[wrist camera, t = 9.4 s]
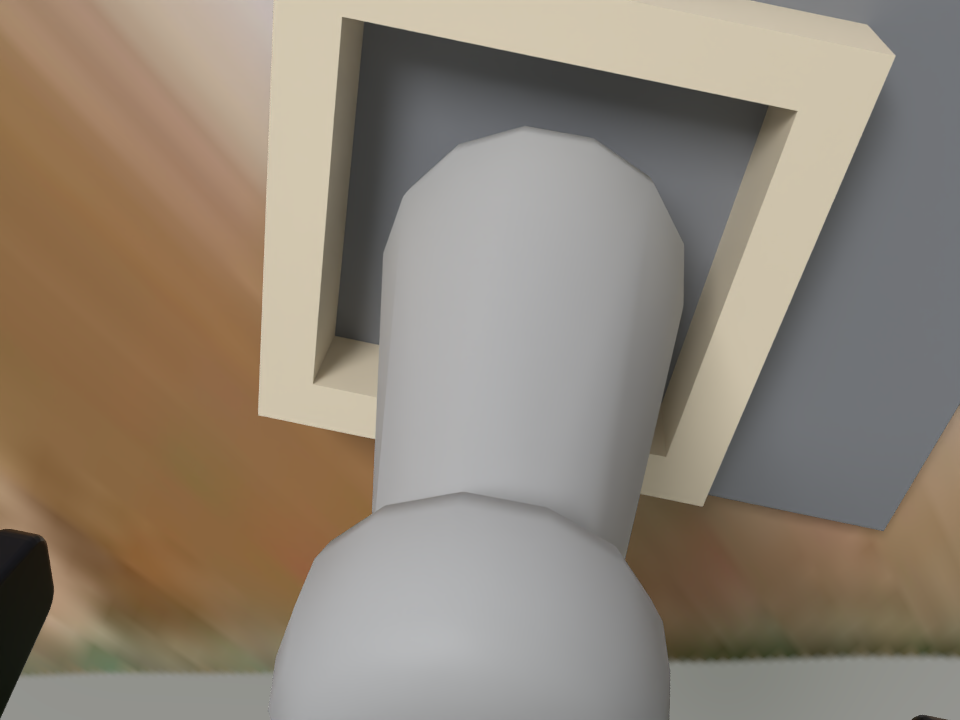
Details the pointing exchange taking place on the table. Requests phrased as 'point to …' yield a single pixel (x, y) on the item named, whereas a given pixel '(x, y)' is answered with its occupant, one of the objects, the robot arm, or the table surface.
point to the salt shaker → (503, 452)
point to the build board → (687, 197)
